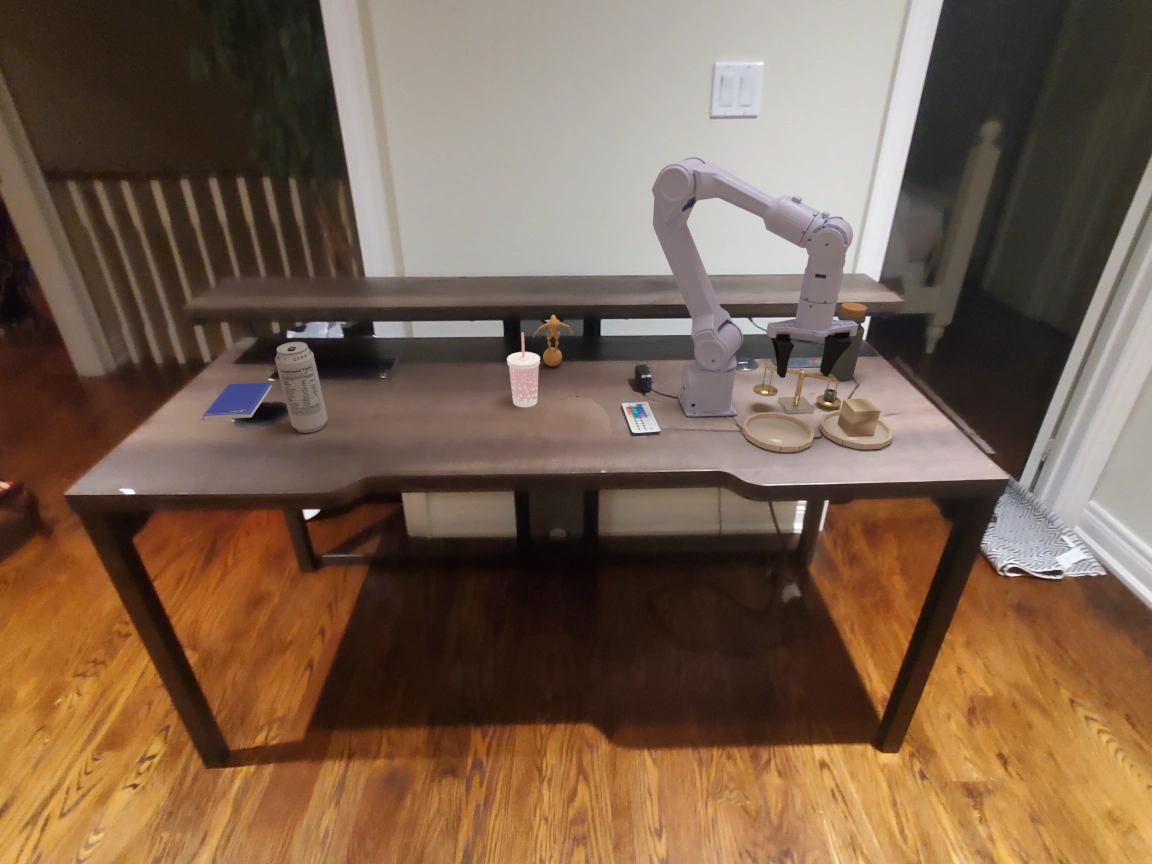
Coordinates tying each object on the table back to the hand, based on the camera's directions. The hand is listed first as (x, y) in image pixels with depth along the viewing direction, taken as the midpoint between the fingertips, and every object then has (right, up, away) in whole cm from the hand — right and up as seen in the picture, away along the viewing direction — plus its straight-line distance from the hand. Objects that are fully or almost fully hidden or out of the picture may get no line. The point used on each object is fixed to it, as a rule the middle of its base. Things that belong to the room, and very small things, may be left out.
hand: (802, 374), depth 109 cm
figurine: (-44, +4, +26) cm, 51 cm away
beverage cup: (-48, -4, +13) cm, 50 cm away
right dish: (+10, -10, +3) cm, 15 cm away
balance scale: (+3, -5, +12) cm, 13 cm away
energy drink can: (-86, -9, +4) cm, 86 cm away
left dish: (-4, -10, +3) cm, 11 cm away
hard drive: (-102, -5, +12) cm, 103 cm away
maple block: (+10, -9, +3) cm, 14 cm away
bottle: (+16, +2, +24) cm, 29 cm away
